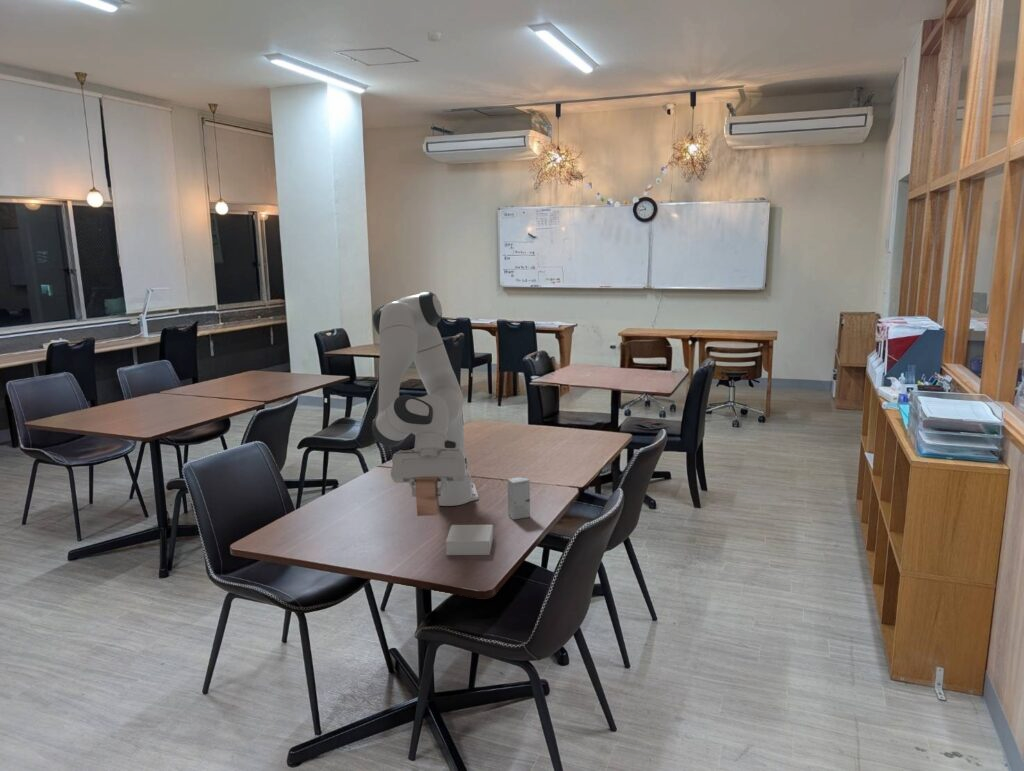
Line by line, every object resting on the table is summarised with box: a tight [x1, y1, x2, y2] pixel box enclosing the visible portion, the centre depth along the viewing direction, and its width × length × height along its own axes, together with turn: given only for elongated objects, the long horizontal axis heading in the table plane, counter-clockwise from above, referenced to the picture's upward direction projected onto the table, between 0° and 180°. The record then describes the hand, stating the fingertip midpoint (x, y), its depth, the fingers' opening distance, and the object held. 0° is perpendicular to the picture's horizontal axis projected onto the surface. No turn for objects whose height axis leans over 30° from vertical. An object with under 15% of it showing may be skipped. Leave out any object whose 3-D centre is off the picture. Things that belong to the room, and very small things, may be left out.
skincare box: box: [506, 476, 531, 520], centre depth 219 cm, size 6×4×12 cm
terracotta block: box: [414, 477, 440, 517], centre depth 184 cm, size 5×5×9 cm
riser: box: [445, 524, 494, 556], centre depth 198 cm, size 12×12×4 cm
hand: (427, 495), depth 184 cm, fingers closed on terracotta block, 5 cm apart
